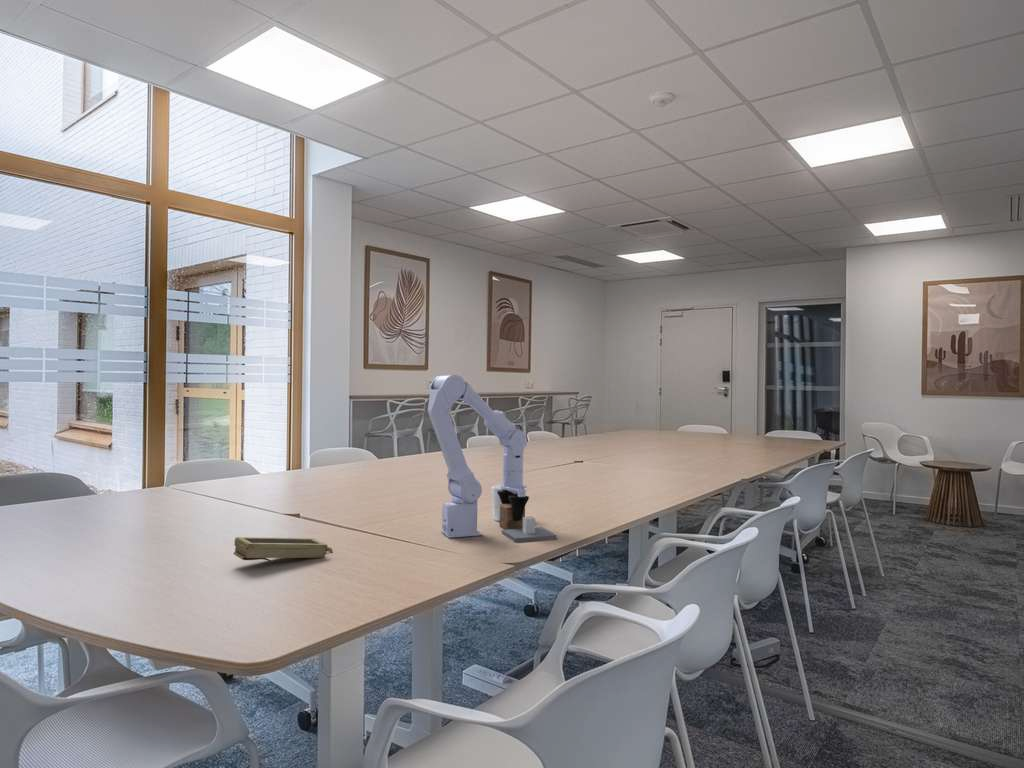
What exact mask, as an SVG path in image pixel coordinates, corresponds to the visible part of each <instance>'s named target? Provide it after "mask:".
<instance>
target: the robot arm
mask: <svg viewBox="0 0 1024 768" xmlns="http://www.w3.org/2000/svg"><path fill="white" fill-rule="evenodd" d="M428 388H429V389H428V390H429V399H428V404H427V405H428V406H427V413H428V415H429V419H430V422H431V425H432V427H433V430H434V433H435V436H436V439H437V442H438V445H439V448H440V449H441V454H442V456H443V459H444V462H445V464H446V467H447V470H448V472H447V474H446V477H447V482H448V485H447V490H448V492H449V494H450V496H451V499H450V500H451V501H448V502H444V503H443V504H442V507H441V508H442V510H441V530H440V531H441V532H442V533H443V534H444V535H445V536H446V538H448V539H451V538H463V537H476V536H477V537H478V536H483V533H482V532H480V530H478V501H479V499H480V497H481V496H482V492H483V488H482V484H481V483H480V482H479V481H478V480H477V478H476V477H475V475H474V472H473V471H472V470H471V468H470V467H469V466H468V464H467V461H466V458H465V455H464V452H463V449H462V446H461V444H460V441H459V438H458V436H457V435H458V434H457V432H456V428H455V427H454V424H453V421H452V418H451V416H450V415H451V414H450V411H451V410H452V407H453V405H454V404H455V403H456V402H457V401H458V400H459V401H463V402H465V403H466V404H467V405H468V406H469V407H471V408H472V409H473V411H475V412H476V413H478V414H479V415H480V416H481V417H482V418H483V424H484V426H485V427H486V428H487V429H488V430H489V431H490V432H491V433H492V434H493V435H494V436H496V438H498V441H499V444H500V446H503V447H502V448H503V451H502V452H503V453H502V481H500V485H501V489H503V490H502V491H497V493H498V495H499V497H500V500H501V503H502V504H510V503H511V506H512V514H513V520H514V521H521V519H522V515H523V511H524V508H525V509H526V505H527V503H528V502H529V499H530V496H528V495H526V491H527V490H526V489H527V485H526V484H524V483H523V482H524V476H523V475H524V449H525V447H526V446H527V444H528V438H526V437H527V436H526V433H525V432H524V431H522V430H521V429H519V428H518V429H517V428H516V426H517V425H516V424H515V423H512V422H511V421H510V420H509V419H508V417H506V413H505V412H504V411H501V410H498V409H496V410H493V409H492V408H491V407H490V406H489V404H487V403H486V401H485V400H484V399H483V398H482V397H481V396H480V395H479V393H478V392H476V390H475V389H473V387H472V385H471V384H470V383H469V382H468V381H466V380H464V378H463V376H461V375H458V374H451V375H450V374H449V375H446V374H440V375H438V376H436V377H435V378H434V379H433V381H432V382H431V384H430V386H429V387H428Z"/></svg>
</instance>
